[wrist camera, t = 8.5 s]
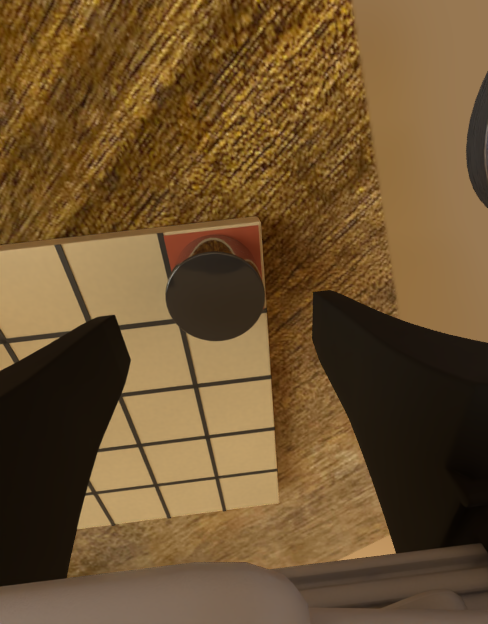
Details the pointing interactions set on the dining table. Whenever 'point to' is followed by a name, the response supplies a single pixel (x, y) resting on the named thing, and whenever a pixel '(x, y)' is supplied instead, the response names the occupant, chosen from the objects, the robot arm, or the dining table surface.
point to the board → (152, 372)
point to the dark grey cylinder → (215, 289)
